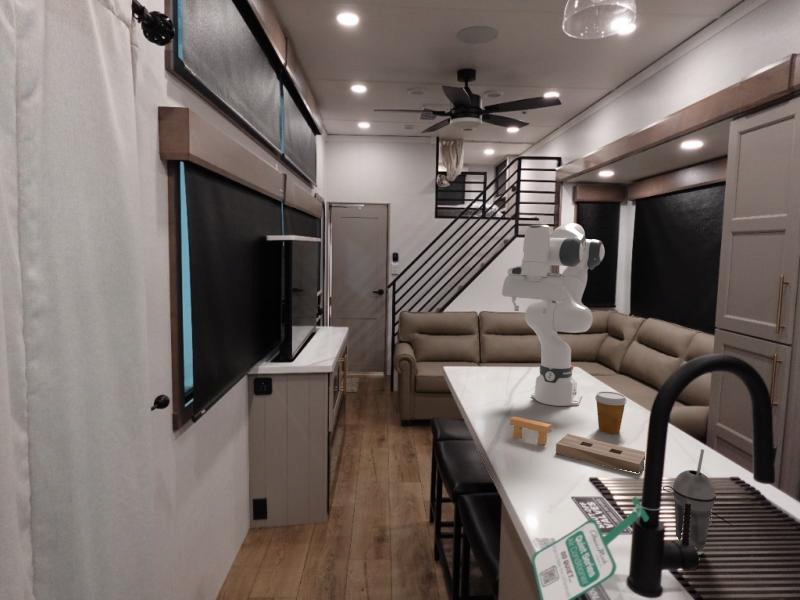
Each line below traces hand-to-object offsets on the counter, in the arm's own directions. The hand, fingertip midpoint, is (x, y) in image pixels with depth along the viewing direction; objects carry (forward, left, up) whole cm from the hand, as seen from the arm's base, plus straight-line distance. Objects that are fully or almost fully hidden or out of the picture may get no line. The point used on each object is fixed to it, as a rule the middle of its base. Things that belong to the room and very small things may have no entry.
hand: (530, 312), depth 163 cm
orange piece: (+16, +8, -38) cm, 42 cm away
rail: (+16, +29, -38) cm, 50 cm away
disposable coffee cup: (-9, +25, -38) cm, 47 cm away
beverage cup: (+50, +55, -38) cm, 83 cm away
